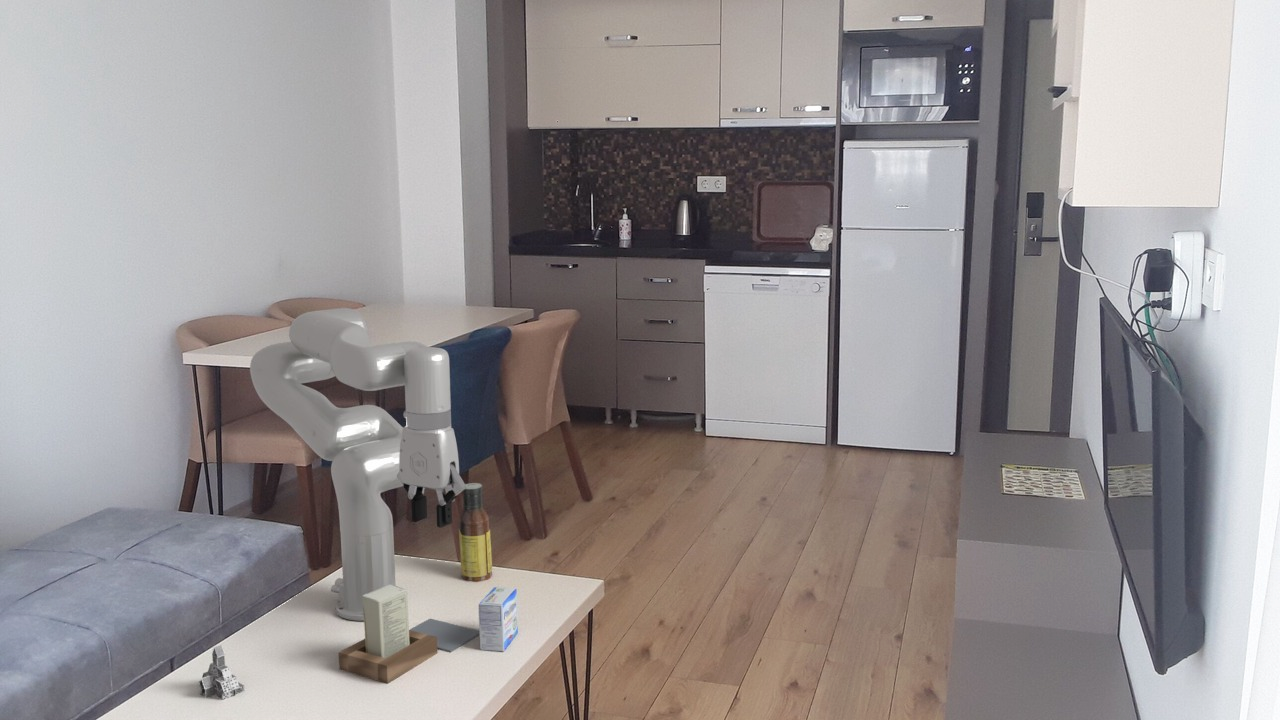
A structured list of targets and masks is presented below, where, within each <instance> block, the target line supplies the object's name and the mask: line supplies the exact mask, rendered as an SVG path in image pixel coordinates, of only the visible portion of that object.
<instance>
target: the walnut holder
mask: <svg viewBox="0 0 1280 720" xmlns="http://www.w3.org/2000/svg"><path fill="white" fill-rule="evenodd" d="M409 641H410V645H409V646H407V647H405V648H403V649H402V650H400V651H398V652H396V653H395V654H393V655H391V656H389V657H388V658H383V657H379V656H375V655H372V654H368V653H366V647H365V638H363V639H362V640H359V641H358V642H356V643H354V644H352V645H350V646H348V647H346V648H345V649H342V650H341V651H339V652H338V663H339V666H338V667H339V670H340V671H343V672H346V673H350V674H353V675H358V676H361V677H364V678H368V679H372V680H374V681H378V682H381V683H385V684H389V683H391V682H393V681H395V680H397V678H400V677H401V676H403V675H405V674H407V673H408V672H410V671H411V670H413V669H414V668H416V667H418V666H419V665H421V664H423V663H424V662H426V661H428V660H429V659H431V658H432V657H434V656H436V655H437V654H438V651H439V649H437V637H435V636H431V635H427V634H423V633H419V632H415V631H411V630H410V629H409Z"/></svg>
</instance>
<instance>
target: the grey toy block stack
mask: <svg viewBox="0 0 1280 720" xmlns="http://www.w3.org/2000/svg"><path fill="white" fill-rule="evenodd" d="M225 656H226V652H225V650H224V648H223V645H222V643H221V644H218V645H215V646H214V647H213V650H212V653H211V657H212V662H211V663H209V667H208V670H207V671H205V672H203V673H202V677H201V678H200V680H199V682H198V683H199V689H200V690H199V691H200V696H202V695H205V698H206V699H207V698H209V697H211V696H214V694H215V695H217V696H218V698H220V699H222V701H224V700H226V699H229V698H232V697H234V696H236V695H237V694H240V693H244V691H245V689H246V688H245V684H243V683H240V682H239V681H238V678H237V676H236V675H234V674H232V672H231V669H230V667H229V666H227V665H226V659H225V658H226V657H225Z"/></svg>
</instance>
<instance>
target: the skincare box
mask: <svg viewBox="0 0 1280 720" xmlns="http://www.w3.org/2000/svg"><path fill="white" fill-rule="evenodd" d="M363 609H364V621H363V623H364V624H363V627H364V639H365V647H366V653H368V654H372V655H375V656H379V657H383V658H388V657H389V656H391V655H393V654H395V653H396V652H398V651H400V650H402V649H403V648H405V647H407V646H409V645H410V641H409V630H410V625H409V623H410V621H409V605H408V589H405V588H402V587H400V586H394V585H392V584H390V585H388V586H385V587H383V588H380V589H378V590H375V591H373V592H370V593H368V594H365V595H363Z"/></svg>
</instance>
